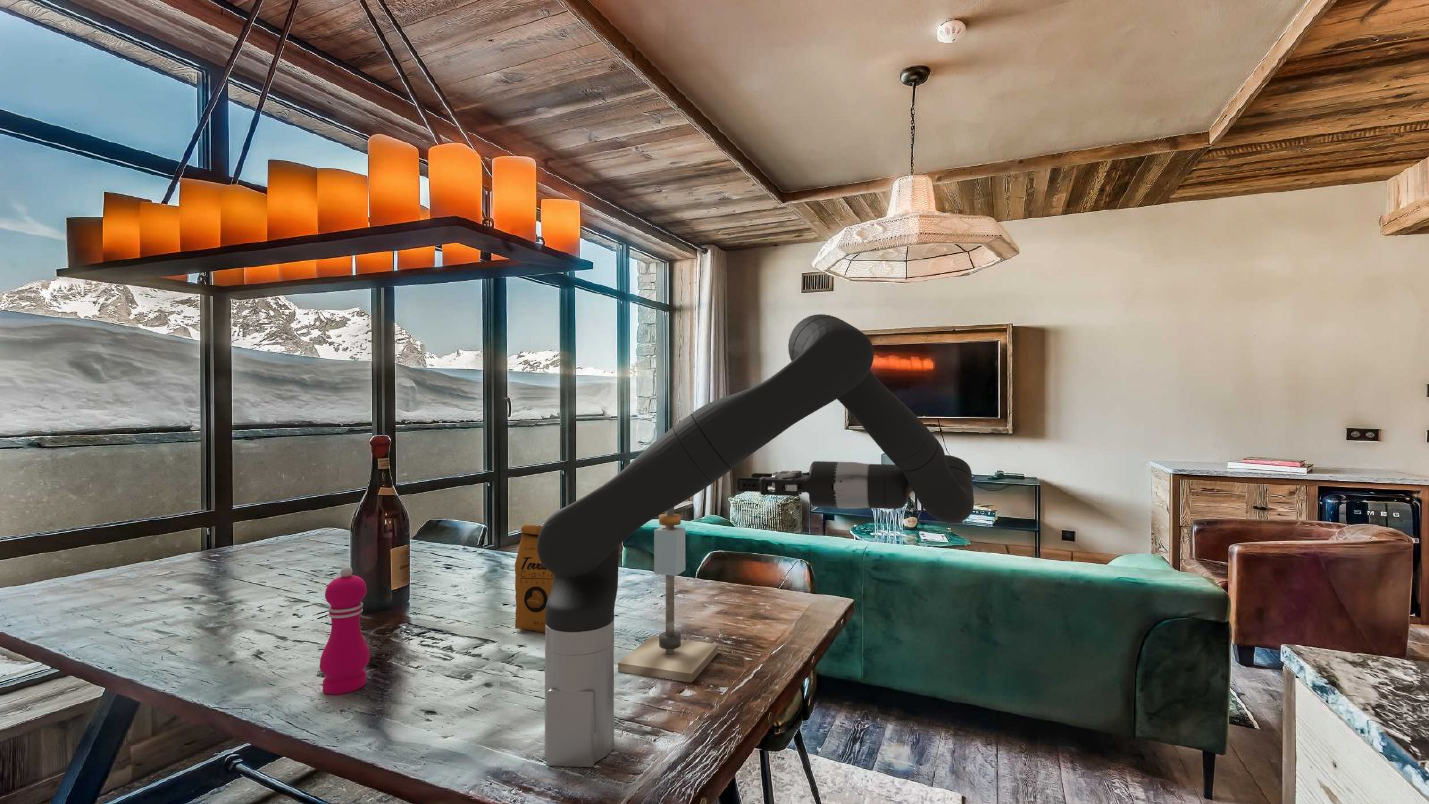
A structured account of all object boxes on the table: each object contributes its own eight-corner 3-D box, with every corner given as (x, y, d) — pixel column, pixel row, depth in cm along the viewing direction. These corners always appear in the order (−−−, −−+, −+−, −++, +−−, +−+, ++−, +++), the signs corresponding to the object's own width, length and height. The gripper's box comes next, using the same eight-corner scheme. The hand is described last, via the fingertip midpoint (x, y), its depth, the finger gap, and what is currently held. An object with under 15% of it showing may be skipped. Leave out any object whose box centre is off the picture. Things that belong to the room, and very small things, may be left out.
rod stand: (718, 652, 116) (717, 469, 117) (691, 682, 103) (691, 476, 104) (651, 643, 121) (651, 467, 122) (618, 671, 107) (618, 473, 108)
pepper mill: (359, 673, 107) (361, 559, 107) (376, 685, 102) (378, 566, 103) (312, 688, 101) (314, 567, 102) (328, 700, 97) (330, 574, 97)
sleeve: (685, 570, 114) (685, 527, 114) (676, 575, 109) (676, 531, 110) (663, 568, 115) (663, 525, 115) (654, 573, 111) (654, 529, 111)
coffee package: (559, 639, 123) (560, 530, 124) (507, 633, 127) (508, 527, 127) (584, 623, 133) (584, 522, 133) (535, 618, 136) (535, 520, 137)
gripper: (845, 459, 106) (755, 457, 111) (834, 465, 92) (732, 462, 98) (846, 502, 105) (756, 498, 111) (834, 514, 92) (732, 509, 97)
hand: (745, 481), depth 104 cm, fingers open, 8 cm apart
